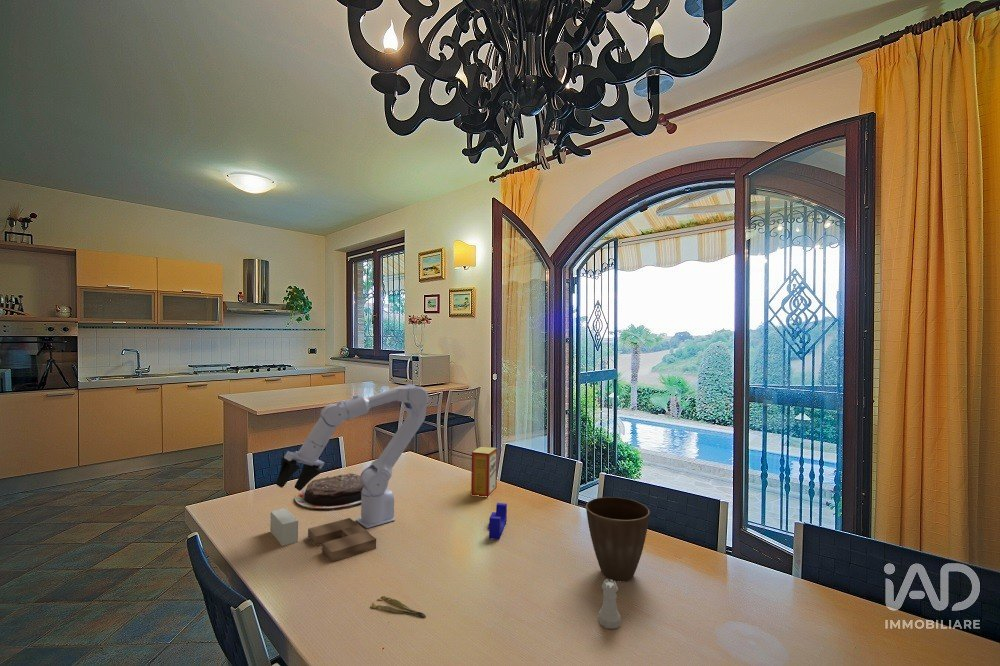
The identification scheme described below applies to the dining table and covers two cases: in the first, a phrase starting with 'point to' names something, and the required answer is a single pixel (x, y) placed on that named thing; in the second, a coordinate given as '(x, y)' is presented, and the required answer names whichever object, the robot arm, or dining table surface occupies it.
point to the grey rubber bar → (284, 526)
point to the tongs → (398, 603)
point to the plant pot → (617, 535)
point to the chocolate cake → (331, 493)
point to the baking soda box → (484, 471)
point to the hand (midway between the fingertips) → (288, 487)
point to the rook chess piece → (609, 606)
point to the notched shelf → (341, 539)
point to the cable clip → (497, 521)
